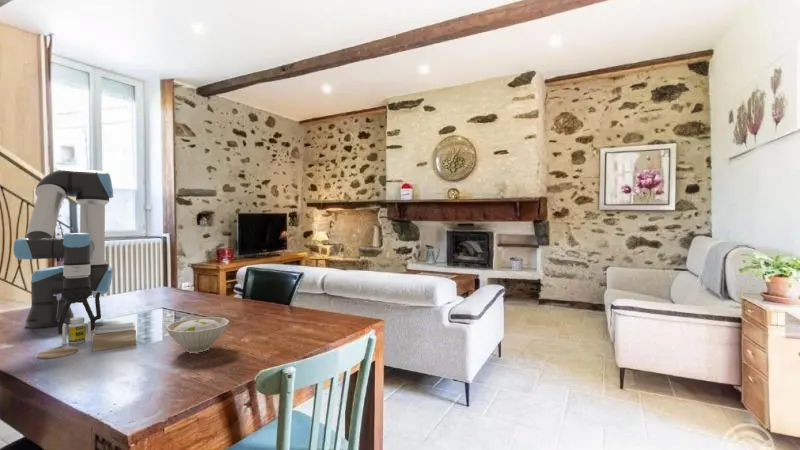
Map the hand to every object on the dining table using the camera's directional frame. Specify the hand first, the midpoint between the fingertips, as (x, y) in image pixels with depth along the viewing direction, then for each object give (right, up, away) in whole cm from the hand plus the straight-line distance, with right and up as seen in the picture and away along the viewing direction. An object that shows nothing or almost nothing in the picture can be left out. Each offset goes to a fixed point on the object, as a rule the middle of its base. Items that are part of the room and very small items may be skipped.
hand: (77, 341), depth 142 cm
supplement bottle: (0, 0, 0) cm, 1 cm away
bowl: (+47, -1, -7) cm, 47 cm away
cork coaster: (+4, 0, -12) cm, 12 cm away
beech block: (+14, 0, -1) cm, 14 cm away
